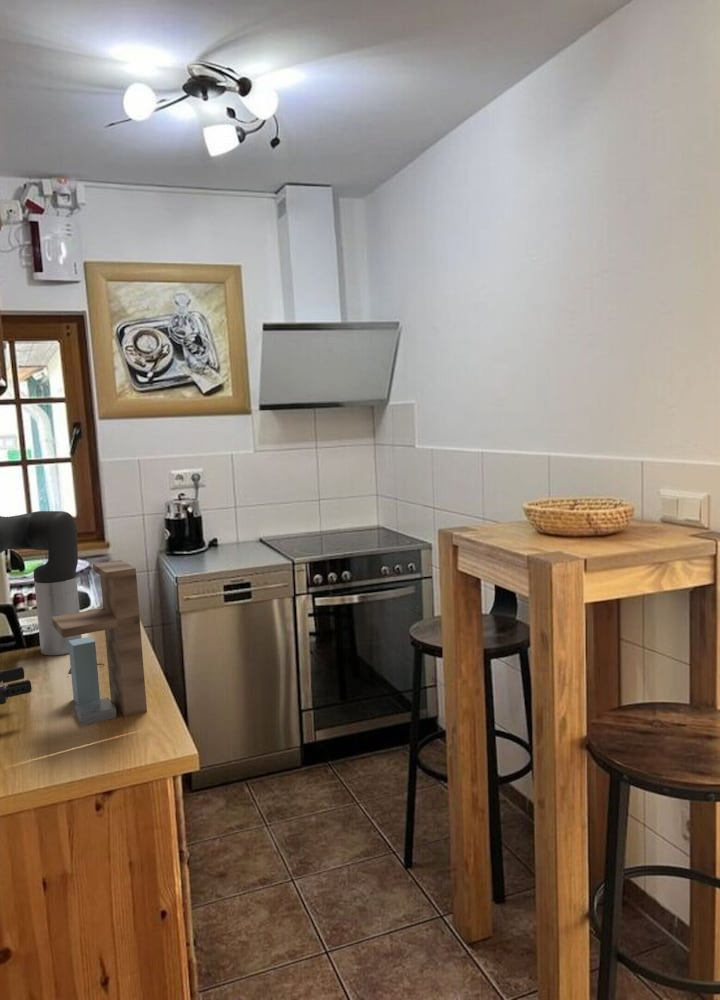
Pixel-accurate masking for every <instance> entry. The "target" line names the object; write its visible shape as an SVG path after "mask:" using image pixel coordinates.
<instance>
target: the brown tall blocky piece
mask: <svg viewBox="0 0 720 1000" xmlns="http://www.w3.org/2000/svg"><path fill="white" fill-rule="evenodd" d="M92 570H93V572H95V573H96V574H98V575H100V586H101V587H100V588H101V599H102V607H101V608H97V609H96V608H95V609H90V610H84V611H80V612H77V613H71V614H66V615H60V616H54V617H51V618H52V625H53V627H54V628H55V629H56V630H57V631H58V632H59V634H60V635H61V636H62V637H63V638H65V637H70V636H76V635H86V634H91V633H96V632H97V633H98V632H102V631H104V633H105V636H104V637H105V644H106V646H105V647H106V659H107V670H108V671H107V672H108V680H109V684H108V685H109V692H110V693H109V695H110V701H111V702H112V703H113V705H114V706H115V707H116V709H117V710H118V711H119V712H120V713H121V715H123V717H124V718H127V717H131V716H136V715H140V714H144V713H147V712H148V707H147V706H148V704H147V696H146V695H147V693H146V682H145V669H144V668H145V667H144V657H143V656H144V655H143V645H142V632H141V618H140V606H139V594H138V591H139V590H138V580H137V569H136V567H134V566H132V565H131V564H129V563H128V562H126V561H124V560H122V559H118V560H111V561H103V562H97V563H96V562H95V563H92Z"/></svg>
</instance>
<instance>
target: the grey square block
mask: <svg viewBox="0 0 720 1000" xmlns="http://www.w3.org/2000/svg"><path fill="white" fill-rule="evenodd" d="M74 716H75V717H76V719H77V720H78V722H79V724H80V725H81V726H82V727H83V726H86V725H90V724H95V723H99V722H103V721H107V720H110V719H111V720H112V719H115V718H118V717H117V707H116V706H115V705H114V703H113V702H112V701H111V699H110V698H109V697H104V698H100V700H95V701H91V702H87V703H82V704H74Z"/></svg>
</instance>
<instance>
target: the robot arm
mask: <svg viewBox="0 0 720 1000" xmlns="http://www.w3.org/2000/svg"><path fill="white" fill-rule="evenodd" d="M78 548H79V547H78V529H77V524H76V521H75V518H74V517H73V515H72V514H71V513H69V512H67V511H63V510H62V511H61V510H60V511H59V510H58V511H57V510H37V511H31V512H28V513H24V514H19V515H18V514H17V515H13V516H2V515H0V554H1V553H3V552H5V551H7V550H14V549H15V550H35V551H47V552H48V553H47V556H48V557H47V561H46V562H45V563H44V564H42V565H39V566H37V567H35V569H34V570H33V582H34V583H33V584H34V593H35V602H36V603H35V604H36V614H37V621H38V622H37V623H38V624H37V625H38V634H39V645H40V653H41V654H42V655H45V656H59V655H60V656H61V655H67V654H69V643H68V641H70V640H75V639H80V638H83V637H82V635H83V634H81V635H76V636H70V637H65V638H63V637H62V636H61V635H60V634H59V632H58V631H57V630H56V629H55V628H54V627H53V625H52V618H51V617H54V616H60V615H66V614H71V613H77V612H81V611H80V603H79V601H80V600H79V592H78V591H79V590H78V581H77V567H78V563H79V551H78ZM24 678H25V669H24V667H22V666H18V667H14V668H8V669H4V670H1V669H0V705H4V704H6V703H7V700H8V699H10V698H12V697H16V696H21V695H25V694H30V693H31V692H32V682H31V680H29V679H26V680H23V679H24ZM19 680H20V681H19ZM15 681H16V682H15ZM2 683H3V684H2ZM6 683H8V684H6Z"/></svg>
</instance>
